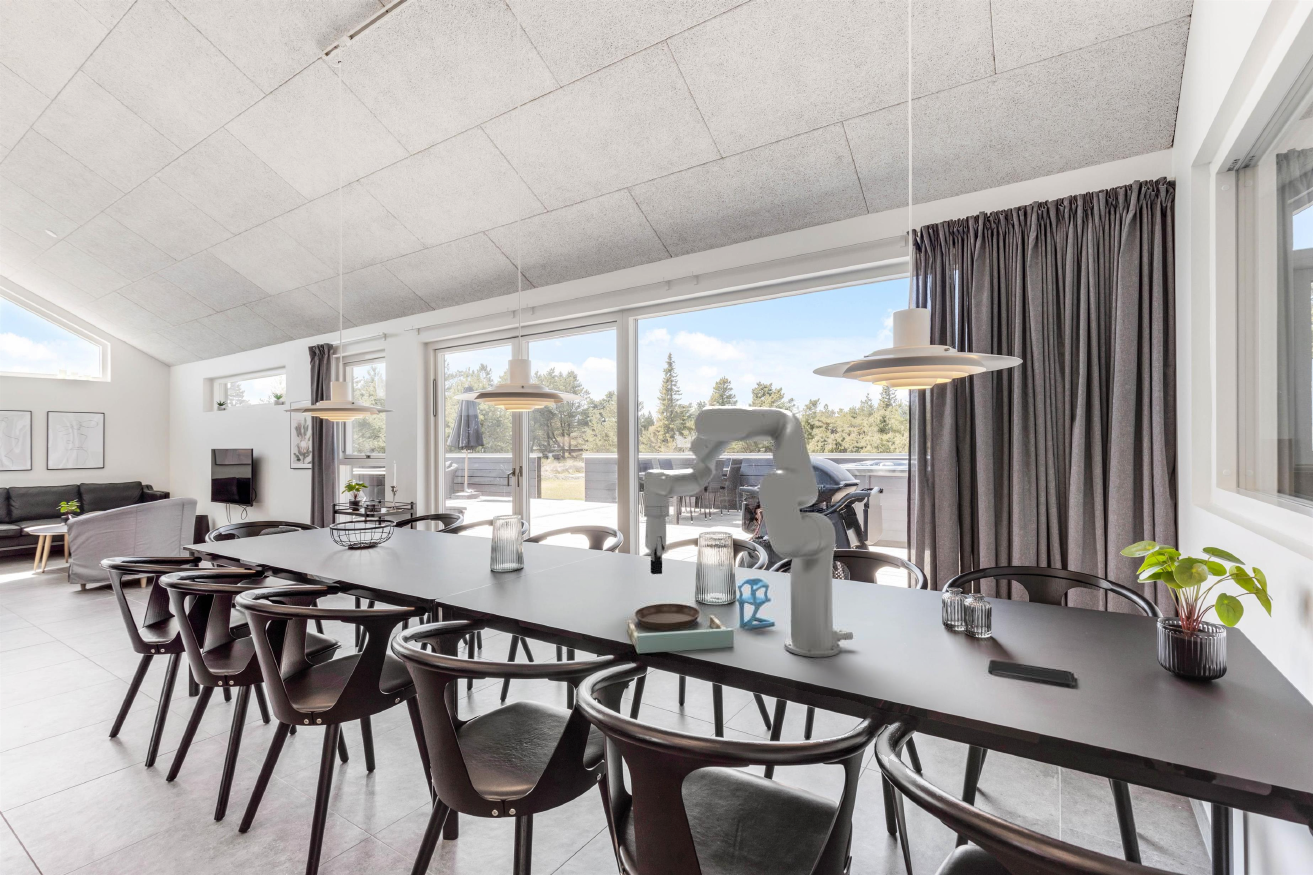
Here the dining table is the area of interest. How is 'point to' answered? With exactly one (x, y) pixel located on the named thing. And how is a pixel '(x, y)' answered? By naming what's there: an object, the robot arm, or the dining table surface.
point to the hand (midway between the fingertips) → (656, 573)
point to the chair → (753, 603)
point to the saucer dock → (683, 639)
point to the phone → (1032, 673)
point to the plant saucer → (667, 616)
